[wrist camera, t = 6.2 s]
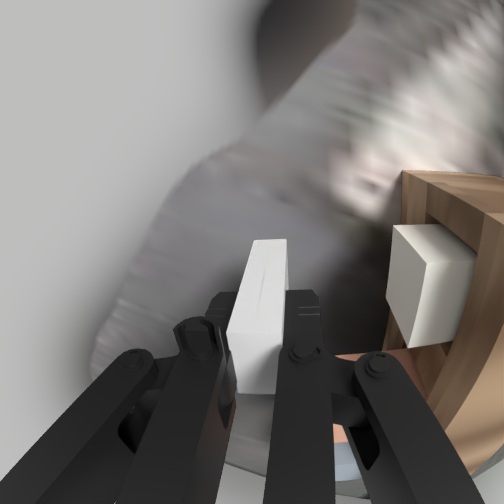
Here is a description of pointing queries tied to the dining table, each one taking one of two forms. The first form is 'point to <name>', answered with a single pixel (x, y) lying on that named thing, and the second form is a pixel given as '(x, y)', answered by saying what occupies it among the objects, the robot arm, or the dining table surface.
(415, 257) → the cream button
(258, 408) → the dining table surface
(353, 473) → the slate button
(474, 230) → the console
